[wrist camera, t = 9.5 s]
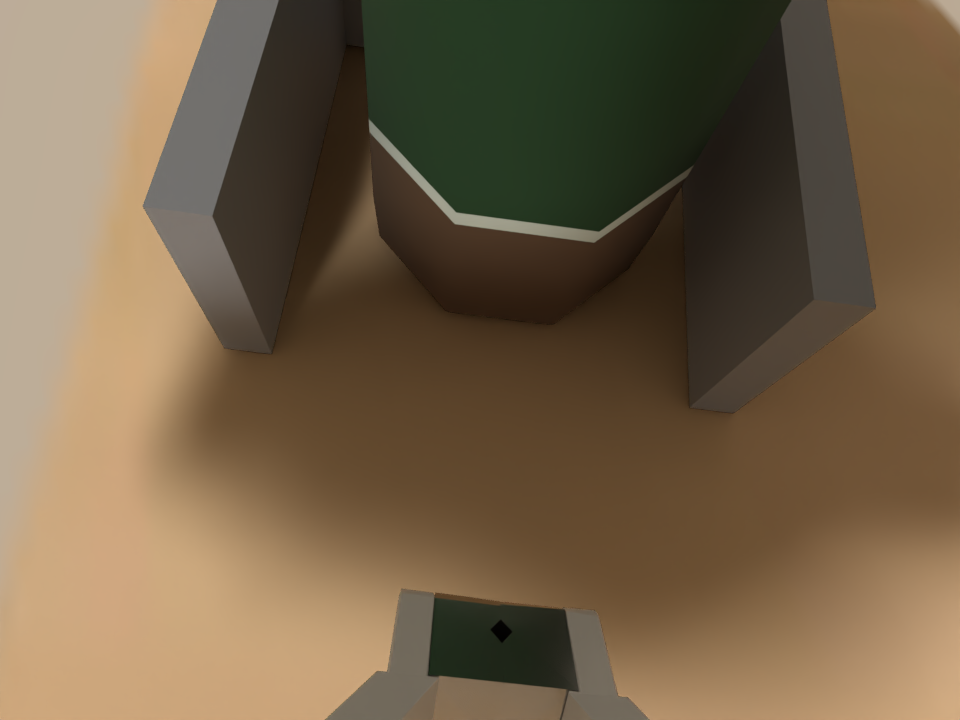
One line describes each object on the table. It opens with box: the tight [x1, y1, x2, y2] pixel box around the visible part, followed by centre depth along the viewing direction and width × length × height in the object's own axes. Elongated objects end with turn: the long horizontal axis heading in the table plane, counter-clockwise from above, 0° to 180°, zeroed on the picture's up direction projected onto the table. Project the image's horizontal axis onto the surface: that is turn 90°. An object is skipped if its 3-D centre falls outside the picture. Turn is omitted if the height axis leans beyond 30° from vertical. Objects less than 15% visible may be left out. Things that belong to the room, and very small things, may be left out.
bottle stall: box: [143, 0, 876, 413], centre depth 18 cm, size 13×12×6 cm
